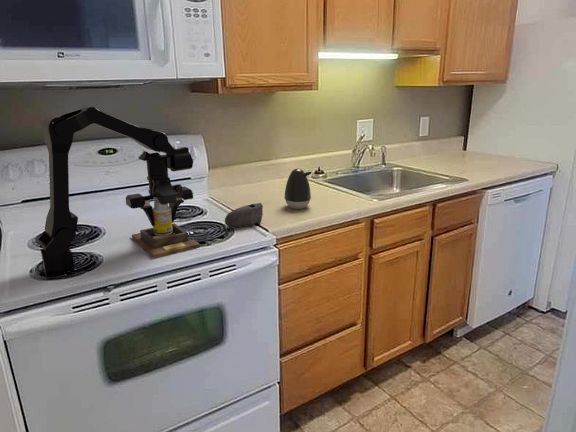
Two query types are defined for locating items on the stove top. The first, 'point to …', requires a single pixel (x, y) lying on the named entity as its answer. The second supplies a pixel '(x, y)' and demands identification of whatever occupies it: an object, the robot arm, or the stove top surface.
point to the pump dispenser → (297, 189)
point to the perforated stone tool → (245, 216)
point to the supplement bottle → (162, 219)
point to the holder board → (164, 241)
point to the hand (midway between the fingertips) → (162, 224)
